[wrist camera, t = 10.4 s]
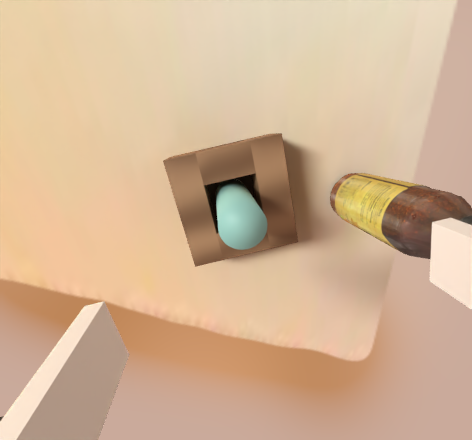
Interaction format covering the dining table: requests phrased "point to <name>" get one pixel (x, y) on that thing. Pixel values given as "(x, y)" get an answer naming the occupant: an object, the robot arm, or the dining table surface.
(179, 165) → the socket block
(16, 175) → the dining table surface
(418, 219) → the sauce bottle
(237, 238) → the dowel
